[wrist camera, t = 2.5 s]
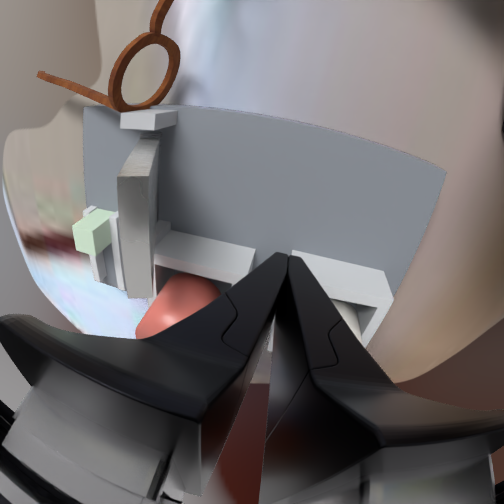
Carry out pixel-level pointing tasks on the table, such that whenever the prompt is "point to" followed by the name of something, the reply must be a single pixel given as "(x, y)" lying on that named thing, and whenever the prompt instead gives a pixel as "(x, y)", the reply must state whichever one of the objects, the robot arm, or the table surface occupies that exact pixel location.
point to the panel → (265, 201)
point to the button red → (176, 303)
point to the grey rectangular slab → (140, 213)
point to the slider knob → (93, 232)
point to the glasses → (115, 81)
